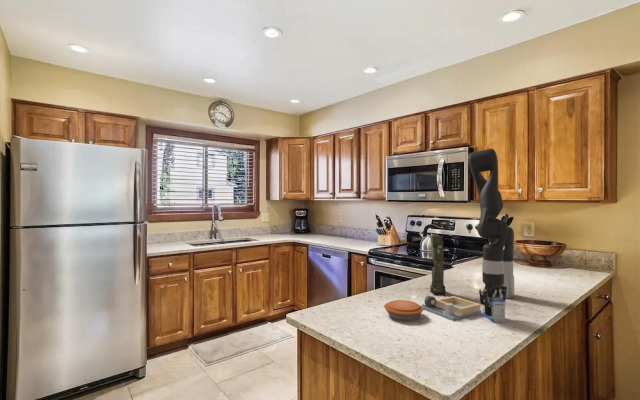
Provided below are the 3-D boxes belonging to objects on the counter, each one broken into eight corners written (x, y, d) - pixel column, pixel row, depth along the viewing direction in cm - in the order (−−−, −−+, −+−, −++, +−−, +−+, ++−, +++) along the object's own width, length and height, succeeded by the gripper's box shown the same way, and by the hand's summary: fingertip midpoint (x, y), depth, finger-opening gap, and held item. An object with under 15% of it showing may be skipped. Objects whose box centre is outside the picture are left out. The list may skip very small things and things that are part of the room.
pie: (395, 325, 123) (395, 311, 123) (377, 311, 138) (377, 299, 138) (431, 320, 127) (431, 307, 127) (410, 308, 142) (410, 296, 142)
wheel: (431, 304, 142) (431, 294, 142) (436, 306, 139) (436, 296, 139) (424, 306, 140) (424, 296, 140) (429, 308, 137) (429, 298, 137)
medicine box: (482, 315, 132) (482, 293, 132) (492, 314, 132) (492, 293, 132) (494, 322, 124) (494, 300, 124) (505, 322, 125) (505, 299, 125)
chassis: (447, 301, 150) (447, 290, 150) (481, 313, 135) (480, 300, 135) (420, 307, 142) (419, 296, 142) (452, 320, 127) (452, 307, 127)
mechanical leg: (448, 296, 155) (445, 233, 162) (432, 295, 157) (430, 233, 164) (443, 294, 168) (441, 236, 175) (429, 294, 170) (427, 236, 177)
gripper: (495, 267, 135) (495, 308, 135) (472, 271, 128) (472, 314, 128) (513, 271, 128) (514, 314, 128) (490, 275, 122) (490, 320, 122)
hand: (493, 314), depth 128 cm, fingers closed on medicine box, 5 cm apart
